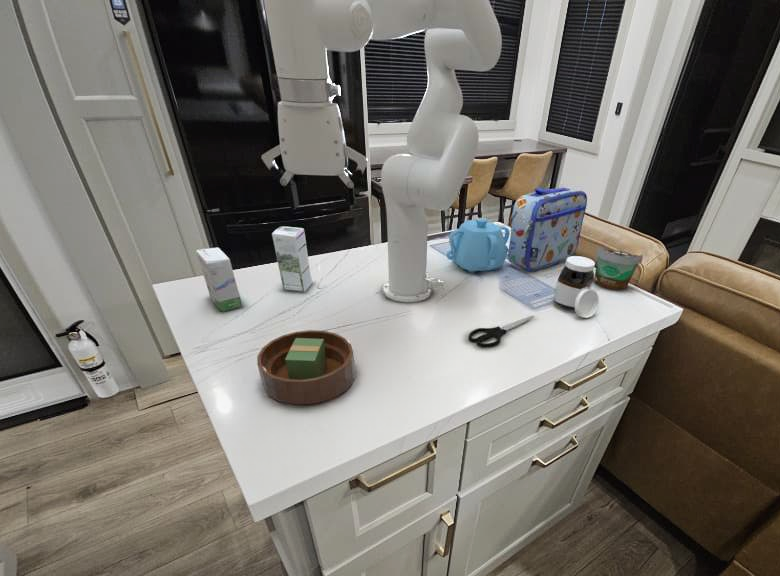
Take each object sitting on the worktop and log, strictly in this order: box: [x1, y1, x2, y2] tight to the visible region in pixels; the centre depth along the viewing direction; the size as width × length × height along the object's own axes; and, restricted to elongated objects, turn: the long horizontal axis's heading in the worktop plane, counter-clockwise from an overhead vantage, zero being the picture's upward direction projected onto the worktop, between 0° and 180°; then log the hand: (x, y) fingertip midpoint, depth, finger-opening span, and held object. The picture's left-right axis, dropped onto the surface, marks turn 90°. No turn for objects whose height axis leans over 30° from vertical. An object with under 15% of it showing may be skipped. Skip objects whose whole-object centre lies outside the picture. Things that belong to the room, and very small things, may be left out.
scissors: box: [467, 315, 534, 349], centre depth 95 cm, size 7×1×20 cm
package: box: [285, 338, 327, 380], centre depth 75 cm, size 5×7×6 cm
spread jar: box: [553, 255, 600, 319], centre depth 103 cm, size 12×11×12 cm
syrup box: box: [271, 225, 313, 293], centre depth 102 cm, size 6×6×14 cm
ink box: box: [195, 247, 244, 313], centre depth 94 cm, size 8×5×12 cm, turn 39°
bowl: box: [256, 329, 356, 405], centre depth 76 cm, size 16×16×6 cm
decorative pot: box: [446, 217, 511, 274], centre depth 121 cm, size 16×16×14 cm
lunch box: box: [507, 187, 588, 272], centre depth 123 cm, size 28×10×22 cm, turn 133°
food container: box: [593, 245, 644, 291], centre depth 115 cm, size 12×6×10 cm, turn 68°
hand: (322, 208), depth 75 cm, fingers open, 9 cm apart
